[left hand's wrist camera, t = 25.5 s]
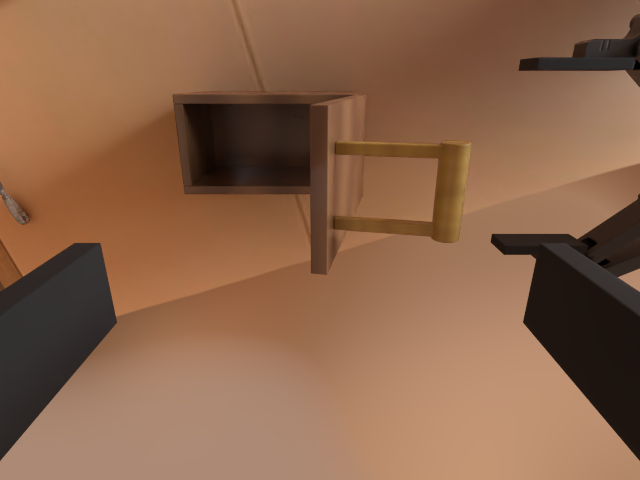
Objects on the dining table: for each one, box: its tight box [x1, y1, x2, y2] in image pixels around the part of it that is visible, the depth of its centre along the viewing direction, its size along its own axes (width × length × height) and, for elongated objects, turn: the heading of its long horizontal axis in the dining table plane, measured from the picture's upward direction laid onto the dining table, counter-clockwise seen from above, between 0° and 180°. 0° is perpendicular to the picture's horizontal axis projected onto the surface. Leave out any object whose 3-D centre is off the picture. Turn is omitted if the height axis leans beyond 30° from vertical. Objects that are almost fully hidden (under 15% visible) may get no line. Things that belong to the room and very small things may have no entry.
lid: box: [310, 95, 471, 275], centre depth 29 cm, size 18×9×8 cm
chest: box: [173, 92, 360, 194], centre depth 44 cm, size 17×9×11 cm, turn 90°
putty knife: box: [0, 183, 30, 224], centre depth 51 cm, size 1×8×2 cm, turn 25°
